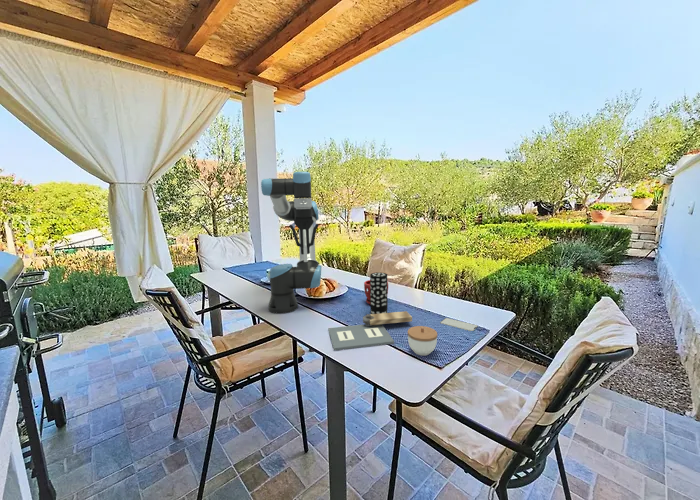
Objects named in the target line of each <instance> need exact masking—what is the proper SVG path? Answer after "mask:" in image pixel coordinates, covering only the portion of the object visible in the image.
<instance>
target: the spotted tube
mask: <svg viewBox="0 0 700 500" xmlns="http://www.w3.org/2000/svg"><path fill="white" fill-rule="evenodd" d="M369 276H370V278H369V280H370V303H371V305H370V314H380V313H388V294H387V282H388V274H387V273H386V272H373V273H370V275H369Z"/></svg>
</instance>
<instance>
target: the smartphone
mask: <svg viewBox="0 0 700 500" xmlns="http://www.w3.org/2000/svg"><path fill="white" fill-rule="evenodd" d="M439 323H440V324H441V325H445V326H449V327H453V328H456V327H457V329H460V330H463V329H464V331H467V330H468V332H471V331H474V330H475V329H476V328H477V327H478V328H479V325H478V324H474V323H470V322H466V321H461V320H458V319H457V320H456V319H453V318H449V317H445V318H444V319H442V320H441V321H440V322H439ZM478 328H477V329H478ZM477 329H476V330H477ZM476 330H475V331H476ZM475 331H474V332H475Z"/></svg>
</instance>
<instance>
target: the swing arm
mask: <svg viewBox="0 0 700 500" xmlns="http://www.w3.org/2000/svg"><path fill="white" fill-rule="evenodd" d="M406 322H407V323H409V322H410V323H411V322H413V316H412V315H411V314H410V313H409V312H408V311H407V310H405V311H394V312H387V313H380V314H371V313H368V314H366V315H364V316H363V317H362V323H364V324H370V325H377V324H382V325H386V324H397V323H406Z"/></svg>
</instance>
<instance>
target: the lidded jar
mask: <svg viewBox="0 0 700 500" xmlns="http://www.w3.org/2000/svg"><path fill="white" fill-rule="evenodd" d="M407 341H408V346H409V347H410V349H411V350H412V351H413V352H414V354H416V355H418V356H424V357H425V356H428V355H430V354H431V353H432V352H433V351H434V350H435V349H436V346H437V342H438V332H437V330H435V329H434V328H432V327H430V326H425V325H418V326H417V325H414V326H411V327H409V328H408V330H407Z"/></svg>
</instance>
